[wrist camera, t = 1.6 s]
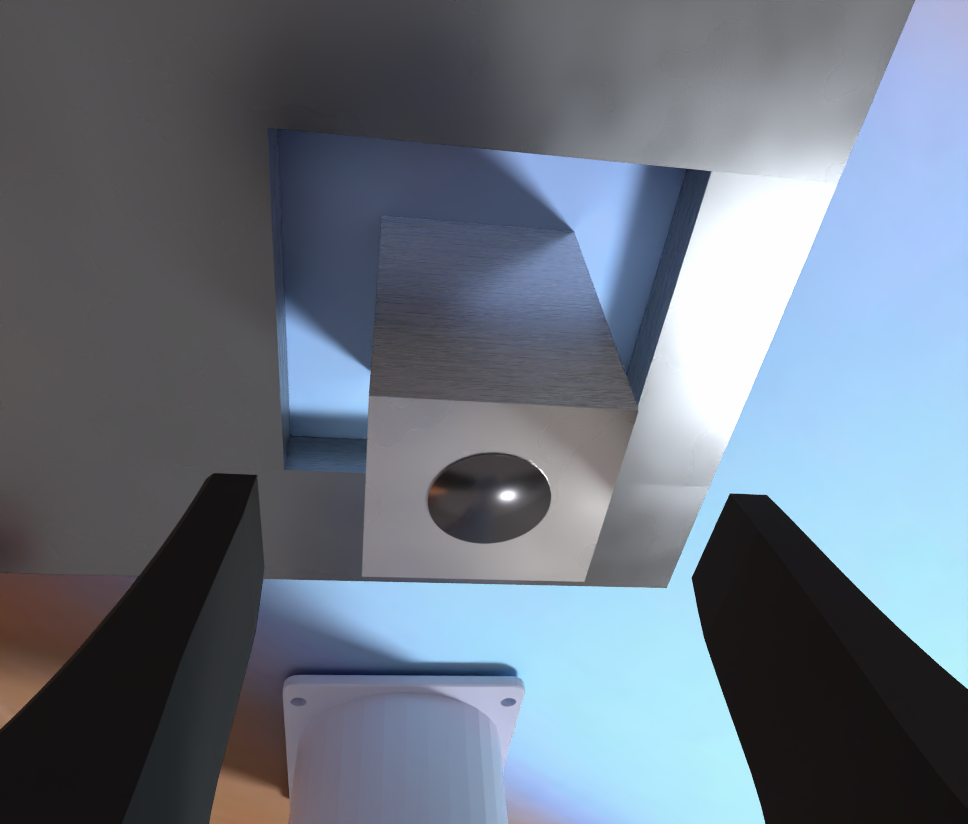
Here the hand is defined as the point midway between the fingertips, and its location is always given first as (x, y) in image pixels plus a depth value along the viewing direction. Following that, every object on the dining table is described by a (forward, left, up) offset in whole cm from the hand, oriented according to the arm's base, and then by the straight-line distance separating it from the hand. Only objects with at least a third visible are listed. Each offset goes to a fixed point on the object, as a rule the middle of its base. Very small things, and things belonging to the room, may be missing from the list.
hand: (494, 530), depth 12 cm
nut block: (0, 0, -7) cm, 7 cm away
